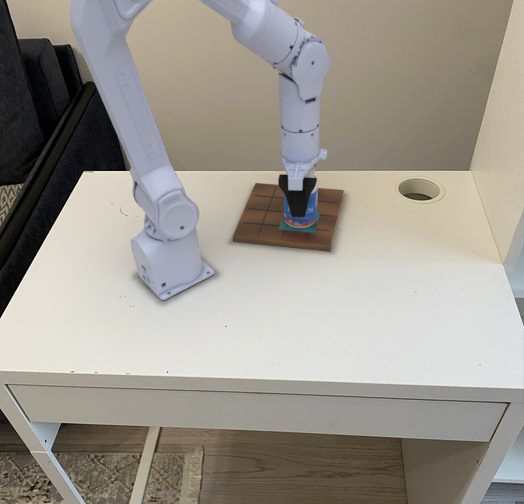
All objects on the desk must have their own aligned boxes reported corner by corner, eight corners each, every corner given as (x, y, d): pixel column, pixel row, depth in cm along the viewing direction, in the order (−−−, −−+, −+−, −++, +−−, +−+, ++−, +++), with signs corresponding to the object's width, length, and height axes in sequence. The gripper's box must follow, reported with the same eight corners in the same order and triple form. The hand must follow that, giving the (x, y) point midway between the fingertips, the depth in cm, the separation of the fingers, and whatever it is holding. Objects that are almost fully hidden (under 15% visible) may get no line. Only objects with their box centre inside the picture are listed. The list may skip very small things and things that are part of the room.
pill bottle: (284, 230, 89) (283, 176, 81) (283, 211, 92) (281, 157, 85) (318, 228, 88) (320, 174, 81) (315, 209, 92) (317, 155, 85)
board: (330, 251, 86) (330, 246, 85) (233, 241, 89) (232, 236, 88) (343, 194, 96) (344, 189, 95) (255, 187, 99) (255, 182, 98)
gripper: (324, 149, 73) (321, 233, 83) (330, 100, 82) (327, 180, 92) (272, 148, 74) (275, 231, 84) (284, 100, 83) (286, 179, 93)
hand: (300, 204), depth 88 cm, fingers closed on pill bottle, 5 cm apart
